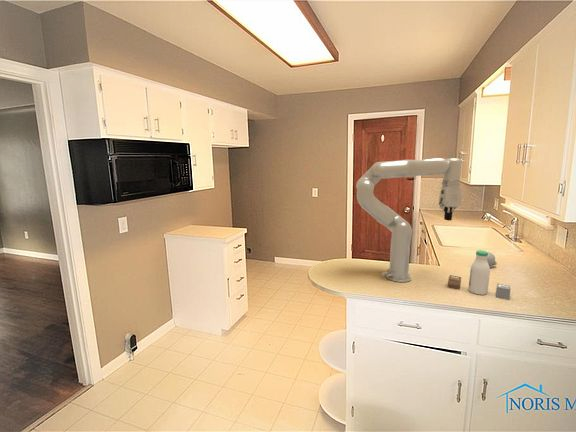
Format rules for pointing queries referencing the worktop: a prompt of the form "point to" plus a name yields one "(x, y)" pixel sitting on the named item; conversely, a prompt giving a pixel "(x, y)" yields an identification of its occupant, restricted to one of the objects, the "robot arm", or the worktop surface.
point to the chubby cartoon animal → (491, 260)
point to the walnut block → (454, 282)
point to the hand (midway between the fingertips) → (447, 219)
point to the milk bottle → (479, 274)
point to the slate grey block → (503, 291)
